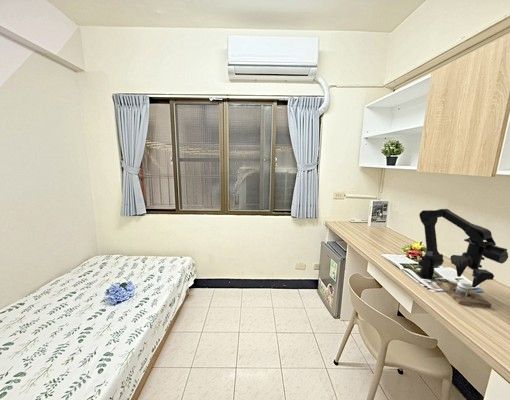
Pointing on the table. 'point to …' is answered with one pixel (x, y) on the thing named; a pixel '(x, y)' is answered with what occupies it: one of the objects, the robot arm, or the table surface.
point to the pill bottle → (463, 288)
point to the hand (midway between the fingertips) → (465, 281)
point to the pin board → (471, 299)
